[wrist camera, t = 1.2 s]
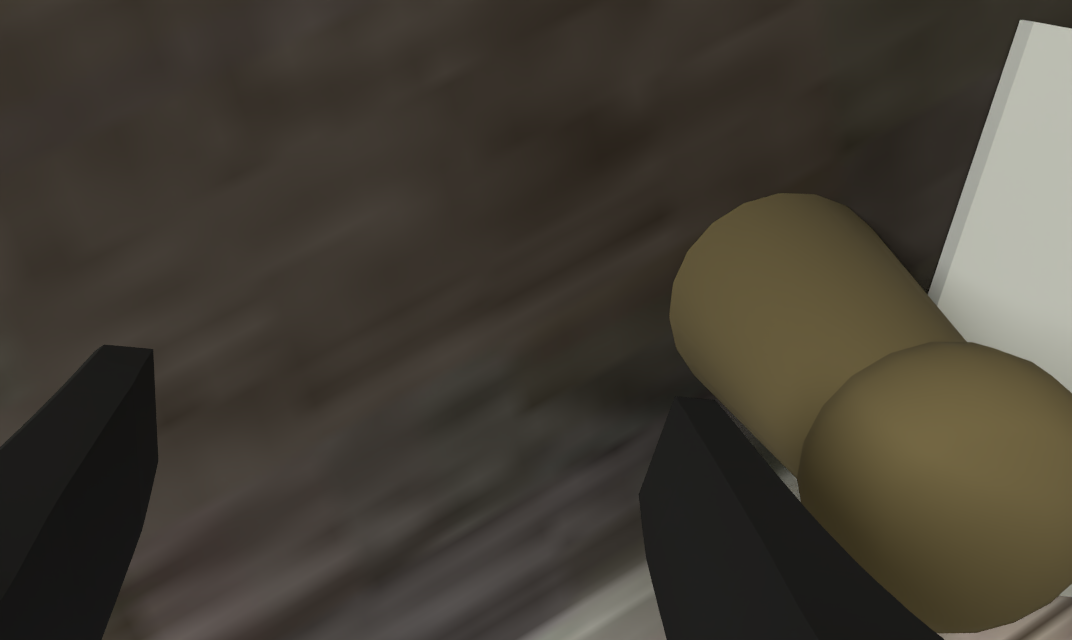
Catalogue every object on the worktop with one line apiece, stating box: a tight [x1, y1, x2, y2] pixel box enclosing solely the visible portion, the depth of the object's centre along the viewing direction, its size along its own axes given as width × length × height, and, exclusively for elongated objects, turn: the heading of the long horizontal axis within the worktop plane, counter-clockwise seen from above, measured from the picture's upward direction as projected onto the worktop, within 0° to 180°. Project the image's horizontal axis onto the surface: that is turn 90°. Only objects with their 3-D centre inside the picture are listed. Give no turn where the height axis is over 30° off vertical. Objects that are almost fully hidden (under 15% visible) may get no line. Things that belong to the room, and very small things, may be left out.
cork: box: [669, 193, 1072, 633], centre depth 21 cm, size 6×6×11 cm
